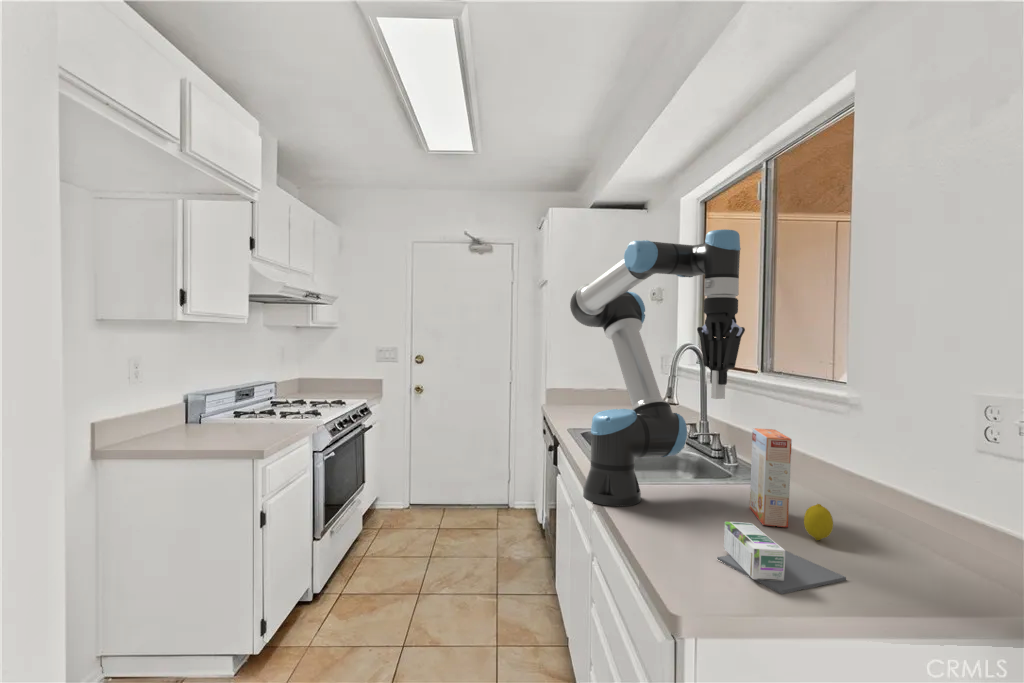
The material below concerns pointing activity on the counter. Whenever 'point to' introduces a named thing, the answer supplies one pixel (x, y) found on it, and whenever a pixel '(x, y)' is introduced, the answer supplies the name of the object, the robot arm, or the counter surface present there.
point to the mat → (794, 574)
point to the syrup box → (754, 551)
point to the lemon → (818, 522)
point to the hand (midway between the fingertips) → (717, 398)
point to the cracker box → (770, 477)
